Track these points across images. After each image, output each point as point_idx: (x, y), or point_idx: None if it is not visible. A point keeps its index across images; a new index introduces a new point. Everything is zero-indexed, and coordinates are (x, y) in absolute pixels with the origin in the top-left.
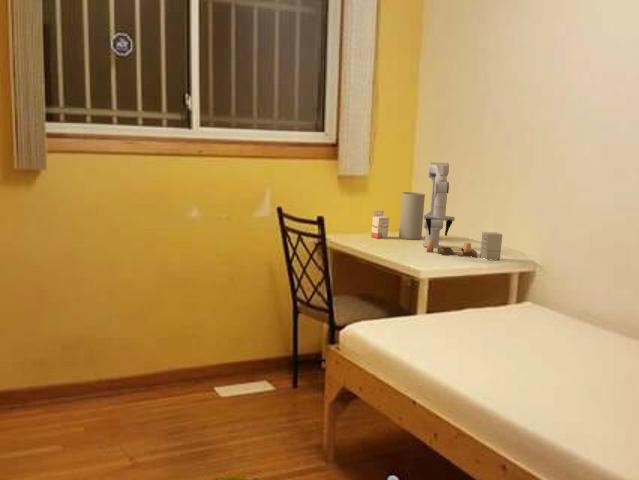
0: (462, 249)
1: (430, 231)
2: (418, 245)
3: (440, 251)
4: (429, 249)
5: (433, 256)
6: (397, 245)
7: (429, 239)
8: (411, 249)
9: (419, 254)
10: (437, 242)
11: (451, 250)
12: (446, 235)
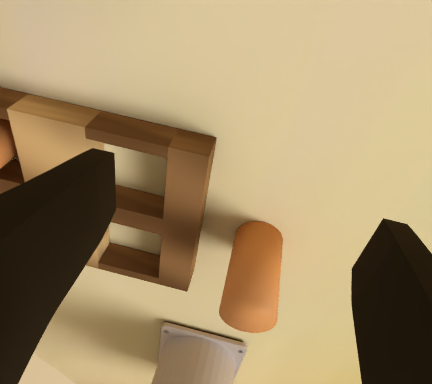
0: None
1: (412, 262)
2: (265, 372)
3: (203, 151)
4: (269, 240)
5: (304, 48)
6: None
7: (254, 330)
8: None
9: (415, 134)
10: (167, 359)
11: None
12: (87, 150)
